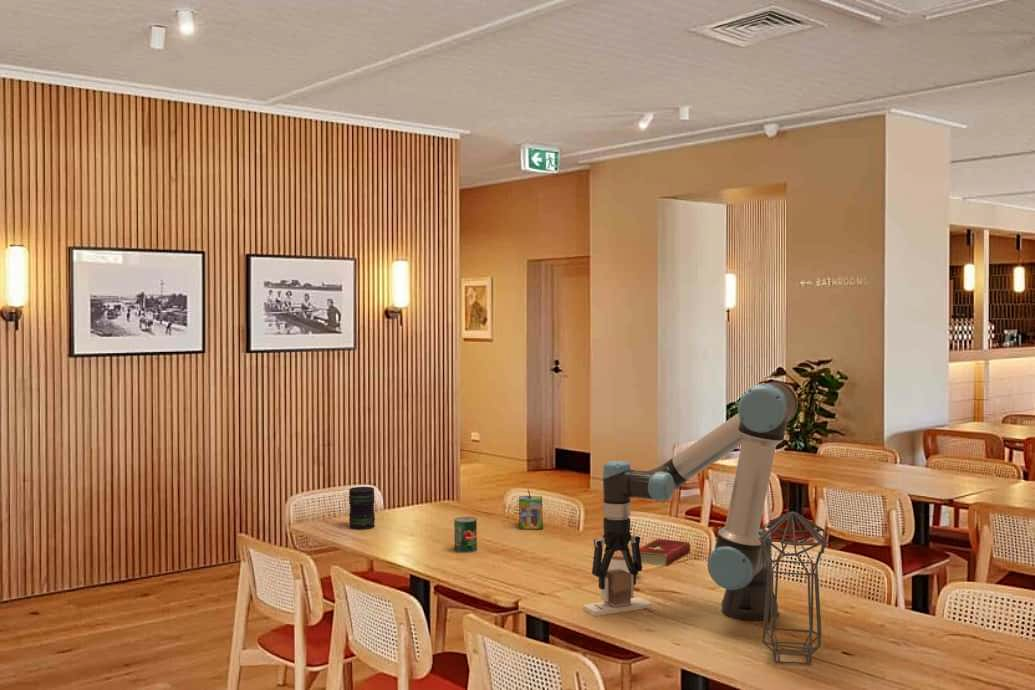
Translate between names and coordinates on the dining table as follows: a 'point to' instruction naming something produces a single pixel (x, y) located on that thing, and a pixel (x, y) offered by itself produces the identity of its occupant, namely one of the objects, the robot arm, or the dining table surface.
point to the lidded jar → (619, 561)
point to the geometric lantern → (770, 574)
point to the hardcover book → (664, 551)
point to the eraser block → (619, 588)
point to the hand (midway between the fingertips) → (617, 598)
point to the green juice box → (530, 512)
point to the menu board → (605, 609)
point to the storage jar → (361, 508)
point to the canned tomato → (465, 534)
